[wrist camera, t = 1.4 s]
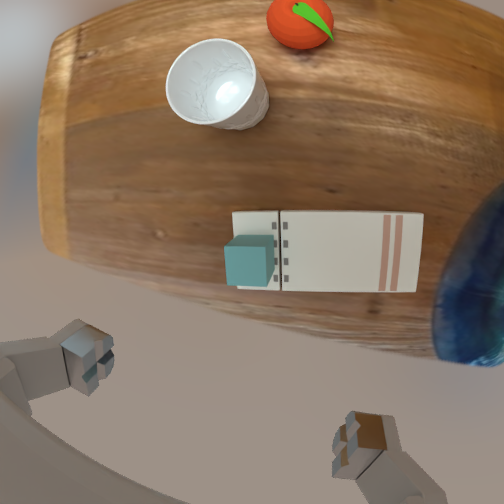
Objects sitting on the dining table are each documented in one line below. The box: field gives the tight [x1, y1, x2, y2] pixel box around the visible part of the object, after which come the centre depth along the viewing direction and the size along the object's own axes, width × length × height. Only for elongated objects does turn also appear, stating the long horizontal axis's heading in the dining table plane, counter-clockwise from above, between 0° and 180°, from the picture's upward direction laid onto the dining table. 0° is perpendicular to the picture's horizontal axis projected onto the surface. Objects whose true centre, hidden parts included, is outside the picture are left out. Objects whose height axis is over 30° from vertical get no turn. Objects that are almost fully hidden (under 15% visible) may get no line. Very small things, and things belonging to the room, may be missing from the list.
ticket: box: [280, 210, 424, 292], centre depth 31 cm, size 16×9×1 cm, turn 93°
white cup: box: [166, 39, 269, 130], centre depth 25 cm, size 8×8×10 cm
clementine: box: [266, 0, 334, 49], centre depth 23 cm, size 8×7×7 cm
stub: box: [224, 210, 281, 290], centre depth 31 cm, size 5×9×6 cm, turn 3°
